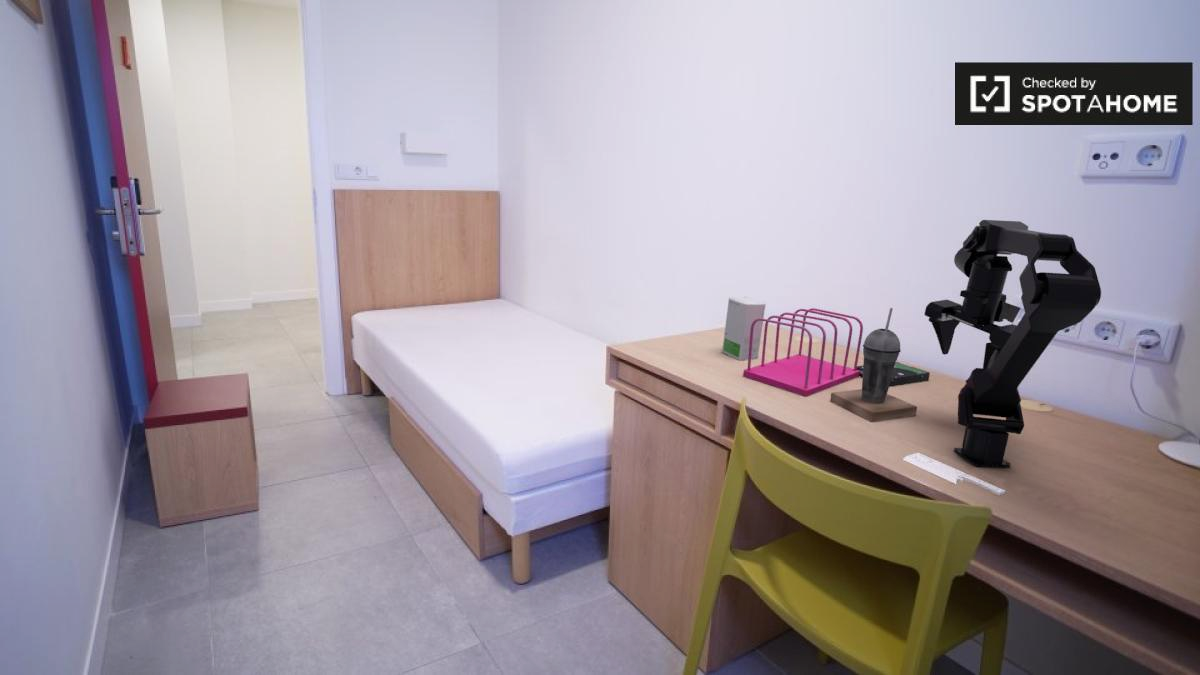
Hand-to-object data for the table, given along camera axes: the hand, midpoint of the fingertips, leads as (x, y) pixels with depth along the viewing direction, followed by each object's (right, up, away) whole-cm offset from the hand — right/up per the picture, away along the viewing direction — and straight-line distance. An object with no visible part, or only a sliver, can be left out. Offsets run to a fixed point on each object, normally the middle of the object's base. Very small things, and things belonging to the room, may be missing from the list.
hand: (964, 363), depth 119 cm
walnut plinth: (-13, -10, +12) cm, 20 cm away
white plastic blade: (-13, -19, -18) cm, 29 cm away
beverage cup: (-13, -8, +11) cm, 19 cm away
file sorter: (-22, -5, +31) cm, 38 cm away
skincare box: (-33, 0, +47) cm, 58 cm away
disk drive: (+1, -6, +33) cm, 34 cm away
